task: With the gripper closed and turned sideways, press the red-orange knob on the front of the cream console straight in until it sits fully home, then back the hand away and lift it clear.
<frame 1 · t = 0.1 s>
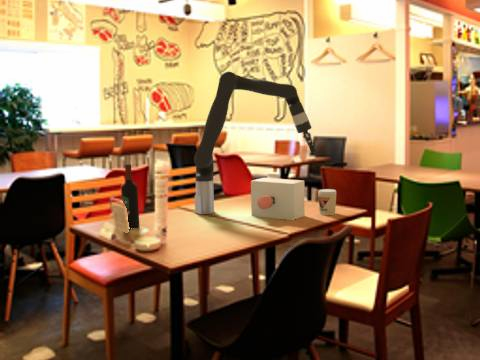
hand: (313, 151, 285), 31 cm above the table, tool tilted 20°, fingers open, 8 cm apart
knob: (268, 201, 272), point 9 cm above the table, slide at 4.0 cm
console: (277, 215, 281), on the table
coffee cup: (327, 214, 284), on the table
wine bottle: (131, 227, 263), on the table
milk carton: (274, 209, 299), on the table
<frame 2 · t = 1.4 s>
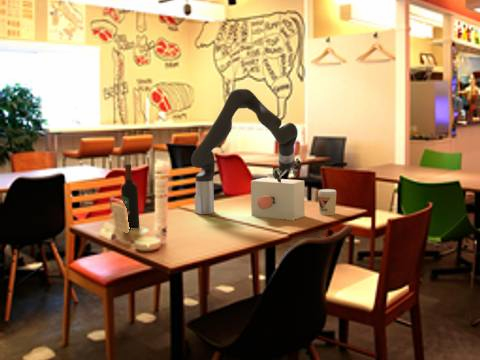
hand: (287, 178, 273), 20 cm above the table, tool tilted 45°, fingers open, 8 cm apart
nothing on the table moved.
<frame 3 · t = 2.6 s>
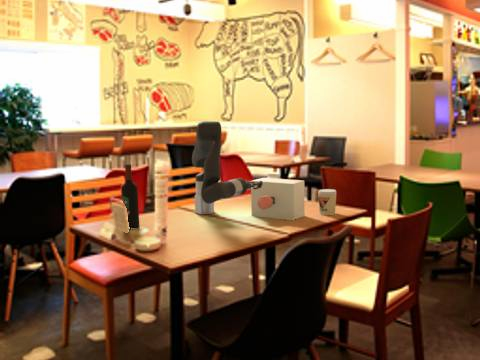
hand: (254, 182, 260), 20 cm above the table, tool horizontal, fingers open, 7 cm apart
nothing on the table moved.
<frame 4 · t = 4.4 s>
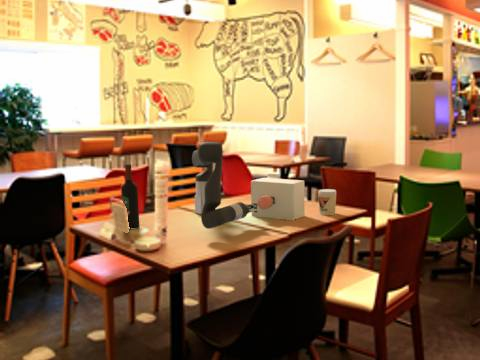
hand: (255, 205, 263), 9 cm above the table, tool horizontal, fingers closed
nothing on the table moved.
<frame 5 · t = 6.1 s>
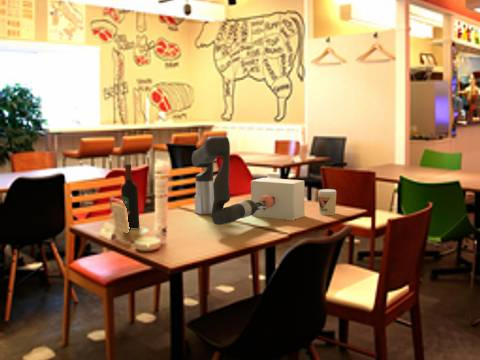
hand: (263, 202, 269), 9 cm above the table, tool horizontal, fingers closed
knob: (269, 201, 273), point 9 cm above the table, slide at 3.0 cm, touching gripper
everything else where it was.
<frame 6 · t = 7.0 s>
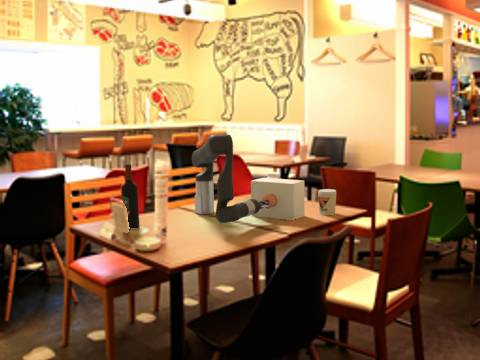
hand: (267, 201, 272), 9 cm above the table, tool horizontal, fingers closed
knob: (272, 200, 276), point 9 cm above the table, slide at -0.1 cm, touching gripper
everything else where it was.
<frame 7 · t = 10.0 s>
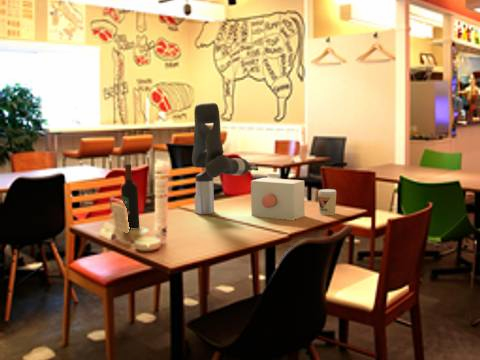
hand: (255, 167, 262), 27 cm above the table, tool horizontal, fingers closed
knob: (272, 200, 276), point 9 cm above the table, slide at -0.1 cm
everything else where it was.
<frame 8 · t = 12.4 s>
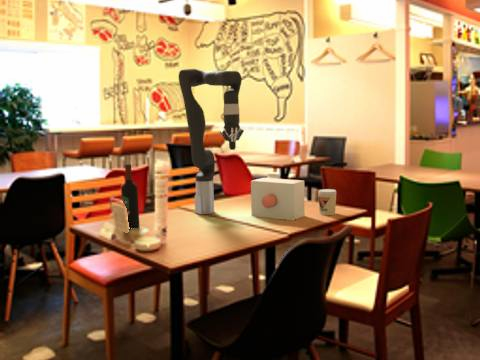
hand: (232, 149, 267), 35 cm above the table, tool pointing down, fingers closed
nothing on the table moved.
at the end: knob slide at -0.1 cm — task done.
